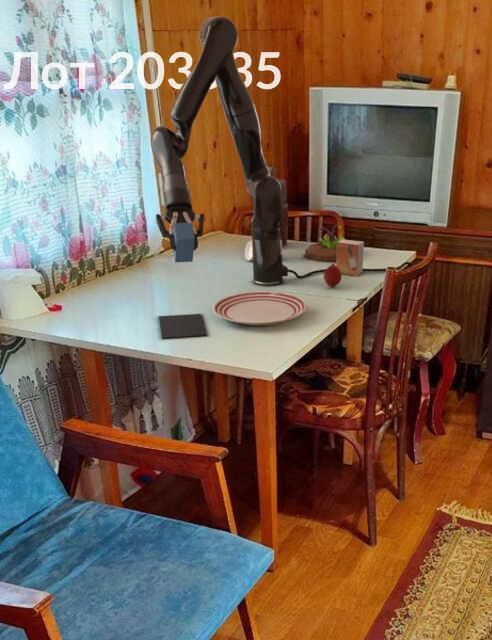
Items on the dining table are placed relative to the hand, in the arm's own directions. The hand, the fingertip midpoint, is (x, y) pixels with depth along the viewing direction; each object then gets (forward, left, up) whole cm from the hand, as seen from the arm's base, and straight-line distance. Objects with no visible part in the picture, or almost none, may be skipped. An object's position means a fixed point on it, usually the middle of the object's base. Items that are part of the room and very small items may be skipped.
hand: (185, 248), depth 208 cm
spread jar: (-31, -57, -19) cm, 67 cm away
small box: (-58, -35, -19) cm, 70 cm away
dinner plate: (-20, +5, -19) cm, 28 cm away
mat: (+3, +10, -19) cm, 22 cm away
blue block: (0, -7, -3) cm, 8 cm away
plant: (-58, -59, -19) cm, 85 cm away
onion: (-48, -19, -19) cm, 55 cm away
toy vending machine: (-39, -77, -19) cm, 88 cm away
